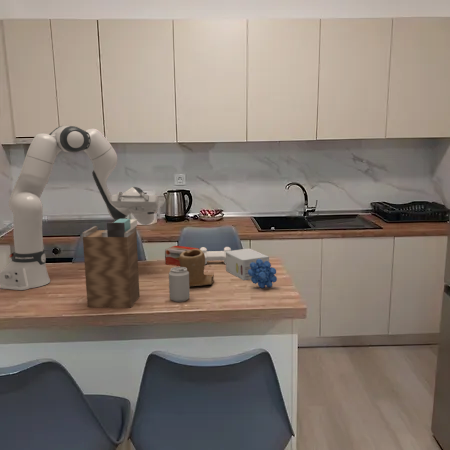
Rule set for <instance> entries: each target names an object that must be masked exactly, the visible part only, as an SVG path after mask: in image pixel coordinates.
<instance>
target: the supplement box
mask: <svg viewBox="0 0 450 450" xmlns="http://www.w3.org/2000/svg"><path fill="white" fill-rule="evenodd" d="M258 259H261V260H262V261H263V263H264V262H265V261H268V262H270V256H269V255H267V254H264V253H261V252H259V251H257V250H255V249H252V248H249V247H248V248H242V249H234V250H233V249H232V250H231V251H226V264H225V271H226V272H228V273H230V274H231V275H233V276H234V277H236V278H238V279H240V280H241V281H248V280H249V281H250V280H251V278H252V276H250V275H249V274H248V270H249V269H251V268H250V263H252V262H254V263H256V260H258Z"/></svg>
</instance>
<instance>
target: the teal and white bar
mask: <svg viewBox="0 0 450 450" xmlns="http://www.w3.org/2000/svg"><path fill="white" fill-rule="evenodd" d="M112 223H124V224H125V232H126V231H128V230H129V229H131V228H132V227H134V226H136V227H138V221H137V219H135V218H133V219H131V218H124V219H118V220H114V221H113V222H112Z"/></svg>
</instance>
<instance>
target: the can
mask: <svg viewBox="0 0 450 450" xmlns="http://www.w3.org/2000/svg"><path fill="white" fill-rule="evenodd" d="M168 286H169V287H168V288H169V290H168V291H169V299H170V300H171V301H172V302H176V303H182V302H183V303H184V302H187V300H188V299H190V297H191V296H190V286H189V272H188V271H187V268H185V267H179V266H173V267H171V268H170V269H169V273H168Z"/></svg>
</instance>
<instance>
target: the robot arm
mask: <svg viewBox="0 0 450 450" xmlns="http://www.w3.org/2000/svg"><path fill="white" fill-rule="evenodd" d="M82 151H83V152H84V153H85V154H86V155H87V157H88V158H89V159H90V161H91V163H92V165H93V170H92V171H91V172H92V178H93V180H94V182H95V184H96V187H97V190H98V191H99V193H100V195H101V197H102V199H103V201H104V204H105V206H106V209H107V212H108V215H109V216H110V218H111V219H113V220H114V221H117V220H118V219H127V217H128V216H130V214H131V215H132V216H133V218H134V219H137V223H139V224H140V225H143V226H148V225H150V224H152V223H153V221H154V220H155V214H157V213H158V210H159V196H158V195H156V194H146V193H145V191H143V190H142V189H141V188H140V187H137V186H132V187H130V188H129V189H127V190H126V191H124V192H121V191H118V192H117V194H111V192H110V189H109V187H108V186H107V180H108V178H109V177H110V175H111V174H112V173H113V172H114V170H115V168H116V166H117V164H118V155H117V152H116V150H115V149H114V147H113V146H112V144H111V143H110V141H109V140H108V139H107V138H106V137H105V136H104V134H103V133H102V132H101V131H100V130H99V129H96V128H88V129H86V130H84V129H83V128H80V127H78V126H76V125H75V126H74V125H69V124H68V125H67V124H66V125H60V126H58V127H56V128H55V129H54V130H52V131H51V132H50V133H43V132H42V133H37V134H36V135H35V136H34V137H33V140H32V141H31V143H30V145H29V146H28V150H27V151H26V155H25V158H24V160H23V163H22V167H21V170H20V173H19V176H18V178H17V179H16V182H15V185H14V187H13V189H12V191H11V194H10V197H9V199H8V207H9V209H10V211H11V212H12V216H13V244H14V251H13V252H12V253H10V254H9V259H10V258H11V260H10V261H9V263H7V264H6V265H5V266H4V267H2V268H1V269H0V289H2V290H3V289H4V290H12V291H13V290H15V291H25V290H28V289H34V288H39V287H42V286H45V285H47V284H49V283H51V279H50V276H49V273H48V269H47V265H46V261H47V259H46V250H45V249H44V241H43V203H42V199H41V196H42V194H43V192H44V190H45V188H46V186H47V184H48V182H49V179H50V178H51V177H50V176H51V174H52V171H53V168H54V164H55V162H56V158H57V156H58V155H59V153H60V152H65V153H79V152H82Z"/></svg>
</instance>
